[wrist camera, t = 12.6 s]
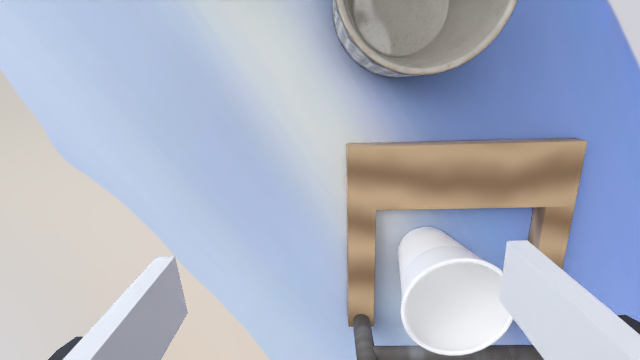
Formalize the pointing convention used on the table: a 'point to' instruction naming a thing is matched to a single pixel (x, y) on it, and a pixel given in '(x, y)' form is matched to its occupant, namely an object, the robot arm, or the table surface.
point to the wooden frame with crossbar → (454, 193)
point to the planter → (417, 32)
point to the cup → (449, 294)
